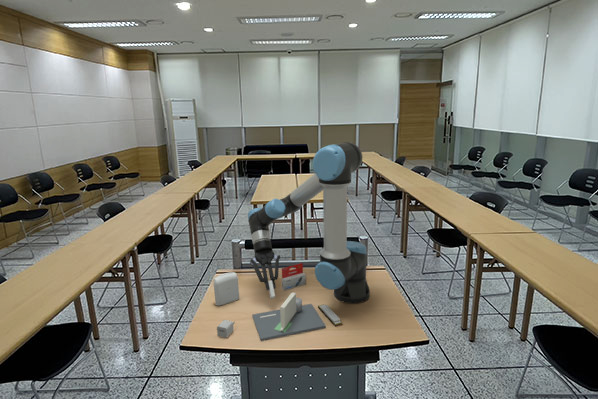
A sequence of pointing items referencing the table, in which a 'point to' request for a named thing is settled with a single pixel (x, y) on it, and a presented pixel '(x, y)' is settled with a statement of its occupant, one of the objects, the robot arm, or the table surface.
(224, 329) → the usb wall charger
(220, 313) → the table surface
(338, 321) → the harmonica
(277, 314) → the gray rectangular board
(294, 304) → the cream slab with knob
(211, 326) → the table surface
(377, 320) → the table surface
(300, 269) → the ink cartridge box
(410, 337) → the table surface
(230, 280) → the photo printer
